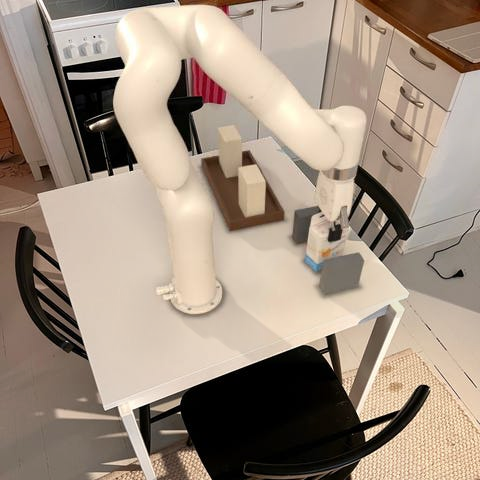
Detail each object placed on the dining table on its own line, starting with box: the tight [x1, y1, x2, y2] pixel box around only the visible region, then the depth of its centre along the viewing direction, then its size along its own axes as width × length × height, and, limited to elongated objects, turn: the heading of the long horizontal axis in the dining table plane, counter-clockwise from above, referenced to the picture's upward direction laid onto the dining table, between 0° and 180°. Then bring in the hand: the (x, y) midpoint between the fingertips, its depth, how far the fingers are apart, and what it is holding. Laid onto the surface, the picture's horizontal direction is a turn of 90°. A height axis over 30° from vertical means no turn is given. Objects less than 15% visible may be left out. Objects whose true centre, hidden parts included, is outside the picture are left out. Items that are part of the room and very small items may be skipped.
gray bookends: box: [291, 205, 365, 296], centre depth 126 cm, size 9×22×9 cm, turn 17°
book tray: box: [200, 149, 285, 232], centre depth 146 cm, size 16×32×3 cm, turn 17°
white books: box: [217, 124, 266, 218], centre depth 142 cm, size 5×29×12 cm, turn 17°
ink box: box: [304, 212, 349, 273], centre depth 123 cm, size 8×5×15 cm, turn 123°
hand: (328, 231), depth 121 cm, fingers closed on ink box, 6 cm apart
